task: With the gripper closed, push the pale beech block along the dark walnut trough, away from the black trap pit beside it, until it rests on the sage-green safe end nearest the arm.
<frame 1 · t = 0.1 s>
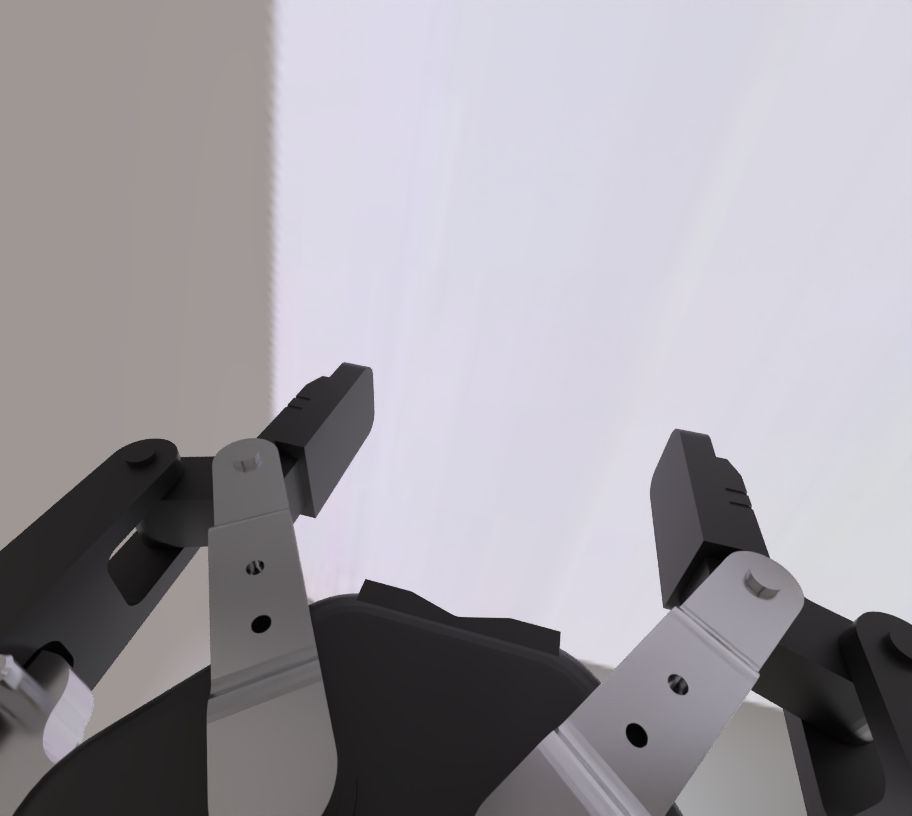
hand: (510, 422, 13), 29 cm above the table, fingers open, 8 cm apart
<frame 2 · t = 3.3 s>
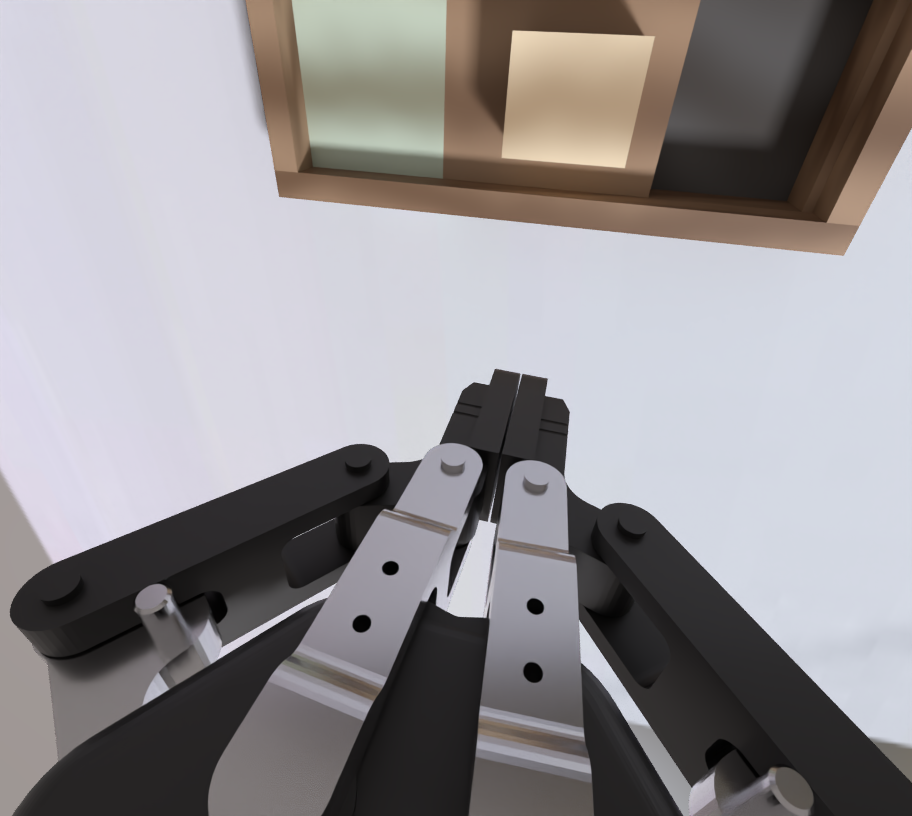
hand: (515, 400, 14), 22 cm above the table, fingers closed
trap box: (557, 93, 27), on the table
beech block: (573, 97, 25), point 3 cm above the table, touching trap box
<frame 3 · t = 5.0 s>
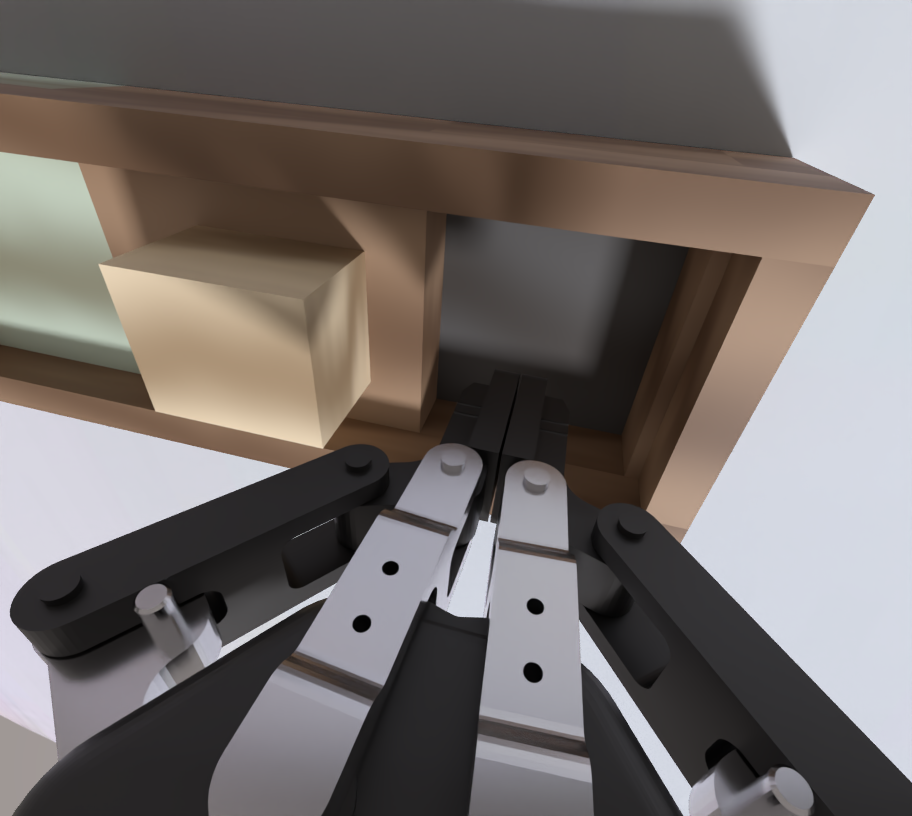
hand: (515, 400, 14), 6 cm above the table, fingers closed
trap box: (304, 275, 20), on the table
beech block: (289, 308, 17), point 3 cm above the table, touching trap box
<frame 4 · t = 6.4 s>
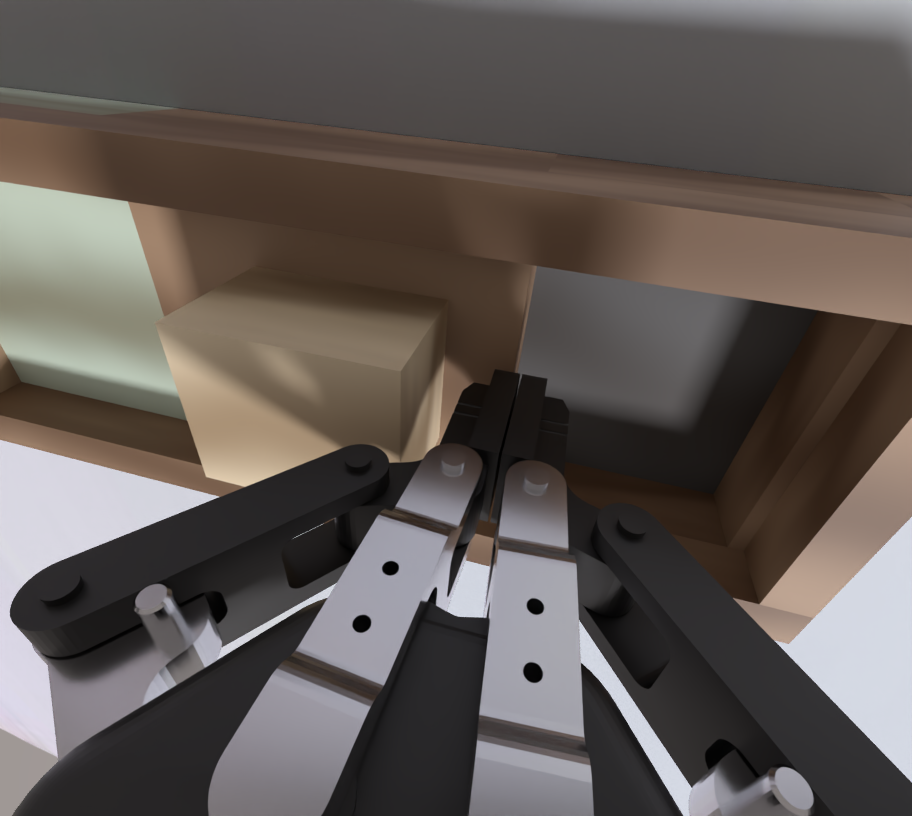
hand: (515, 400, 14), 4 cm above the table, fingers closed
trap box: (364, 314, 18), on the table
beech block: (353, 357, 15), point 3 cm above the table, touching gripper, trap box
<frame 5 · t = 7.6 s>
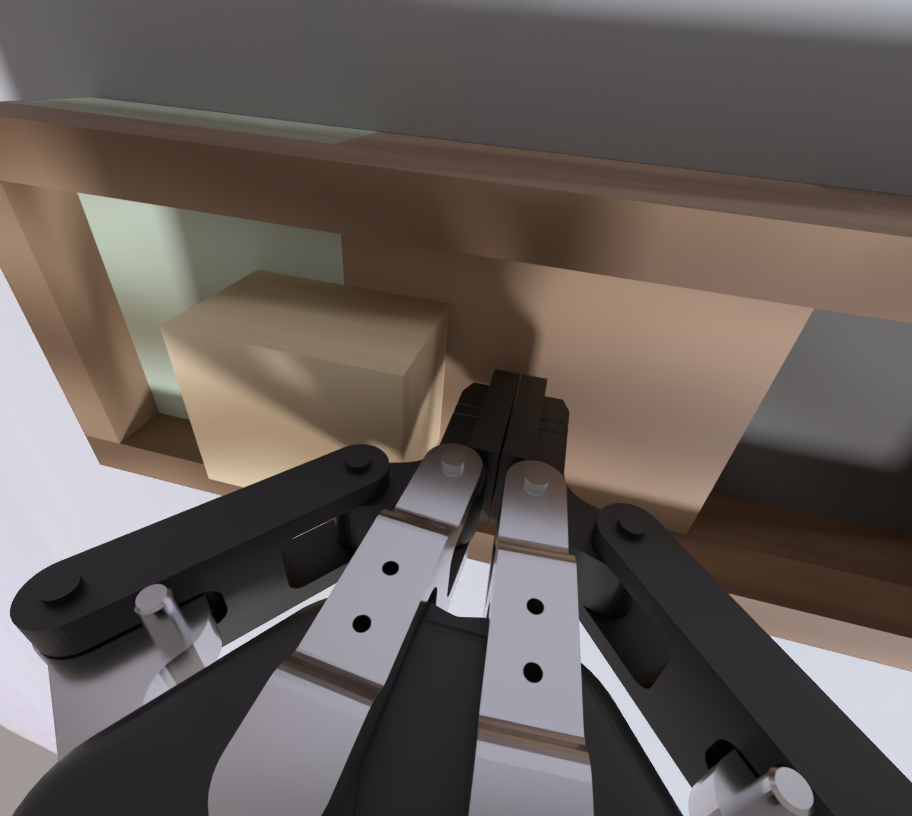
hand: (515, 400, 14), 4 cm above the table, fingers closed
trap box: (543, 346, 17), on the table
beech block: (354, 360, 15), point 3 cm above the table
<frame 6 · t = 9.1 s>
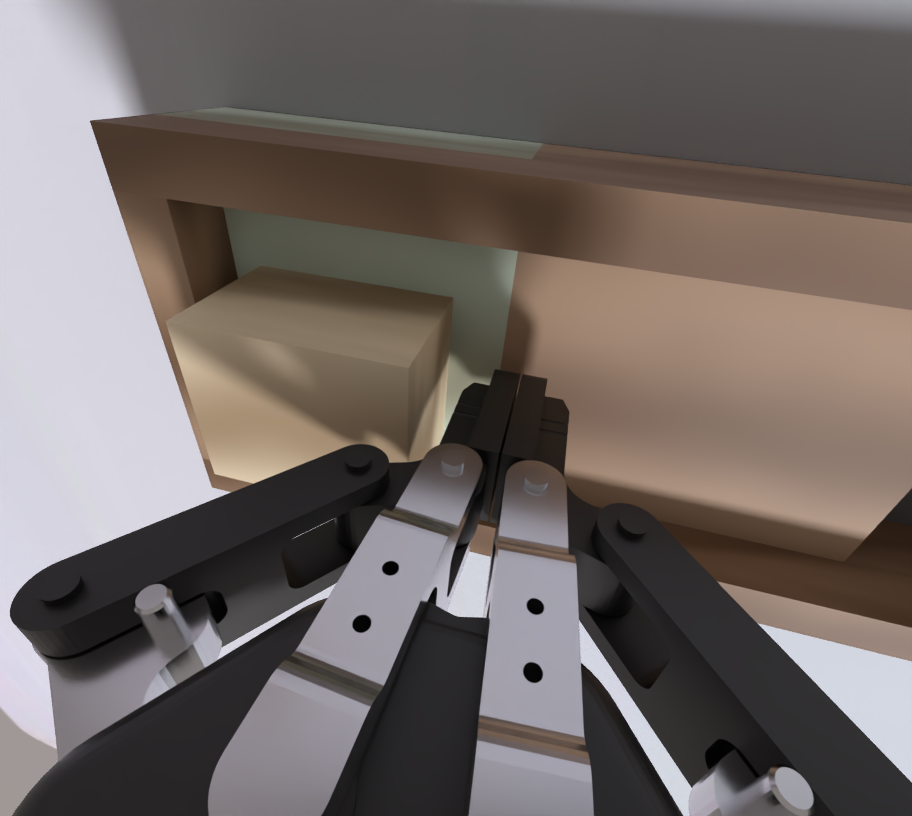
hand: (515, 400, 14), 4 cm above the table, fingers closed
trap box: (688, 364, 16), on the table
beech block: (358, 355, 15), point 3 cm above the table, touching gripper, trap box
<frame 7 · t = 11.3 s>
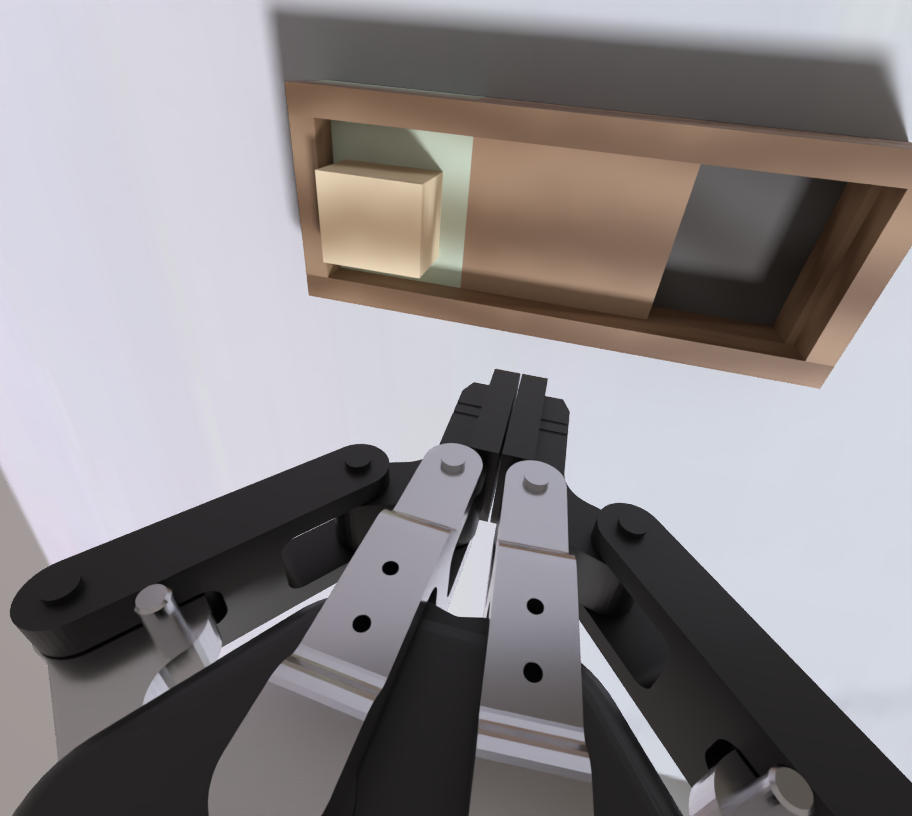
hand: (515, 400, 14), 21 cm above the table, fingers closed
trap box: (568, 219, 30), on the table
beech block: (394, 209, 29), point 3 cm above the table, touching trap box
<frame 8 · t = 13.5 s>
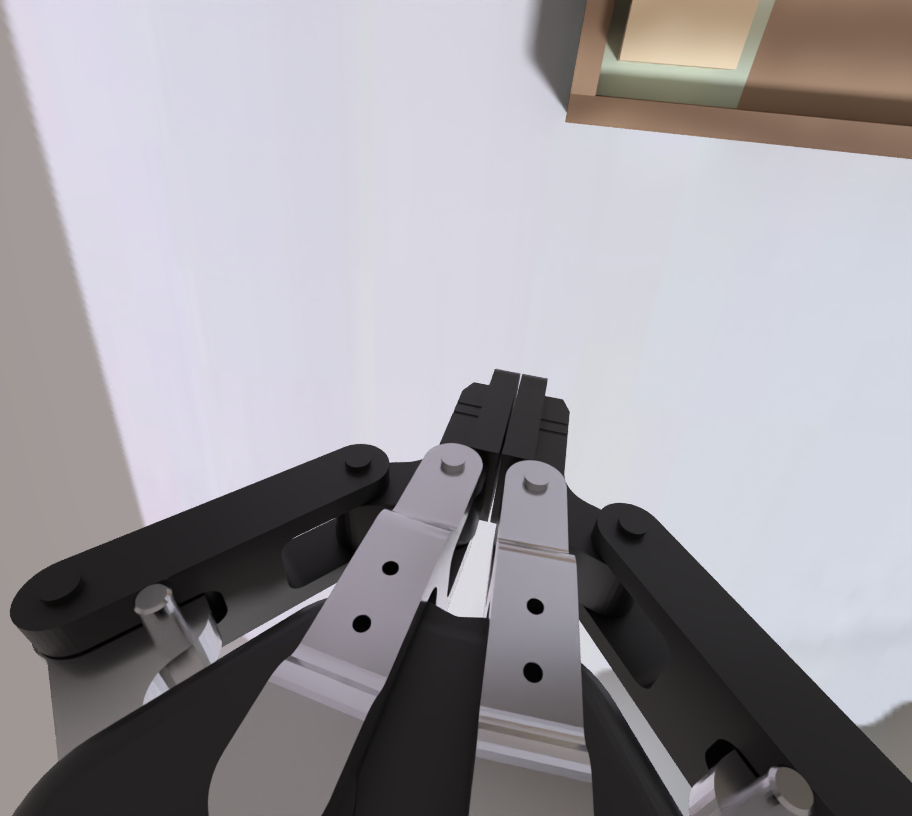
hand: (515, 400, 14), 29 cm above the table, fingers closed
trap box: (865, 25, 28), on the table
beech block: (682, 11, 27), point 3 cm above the table, touching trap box
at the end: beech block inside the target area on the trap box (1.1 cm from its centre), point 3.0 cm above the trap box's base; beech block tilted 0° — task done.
